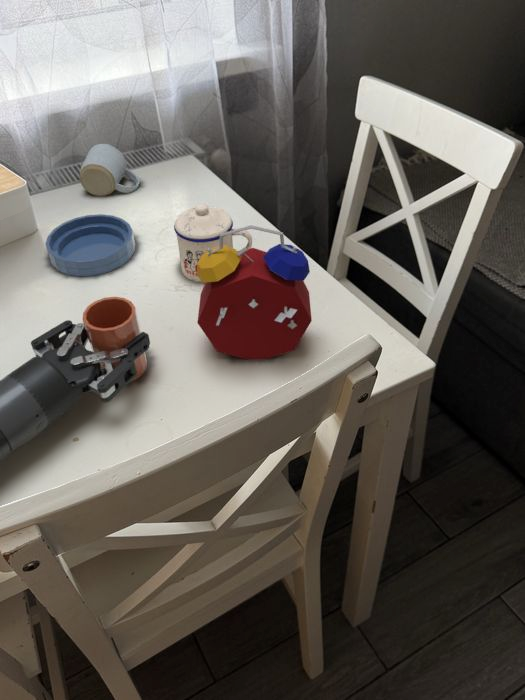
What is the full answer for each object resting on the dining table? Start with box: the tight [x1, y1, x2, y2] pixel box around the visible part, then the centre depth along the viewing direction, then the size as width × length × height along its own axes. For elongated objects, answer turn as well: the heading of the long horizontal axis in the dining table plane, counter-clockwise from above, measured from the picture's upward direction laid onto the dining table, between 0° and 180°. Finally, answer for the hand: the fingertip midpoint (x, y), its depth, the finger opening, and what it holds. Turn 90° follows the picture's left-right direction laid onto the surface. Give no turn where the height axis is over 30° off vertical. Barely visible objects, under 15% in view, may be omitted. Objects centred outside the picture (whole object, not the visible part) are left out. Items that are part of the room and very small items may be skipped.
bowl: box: [45, 213, 136, 277], centre depth 101 cm, size 14×14×4 cm
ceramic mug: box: [79, 143, 141, 197], centre depth 116 cm, size 11×8×8 cm
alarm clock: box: [196, 225, 313, 360], centre depth 77 cm, size 15×9×20 cm, turn 90°
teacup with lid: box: [173, 203, 253, 284], centre depth 94 cm, size 12×9×12 cm
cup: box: [82, 296, 148, 383], centre depth 78 cm, size 6×6×10 cm
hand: (127, 326), depth 79 cm, fingers closed on cup, 6 cm apart
